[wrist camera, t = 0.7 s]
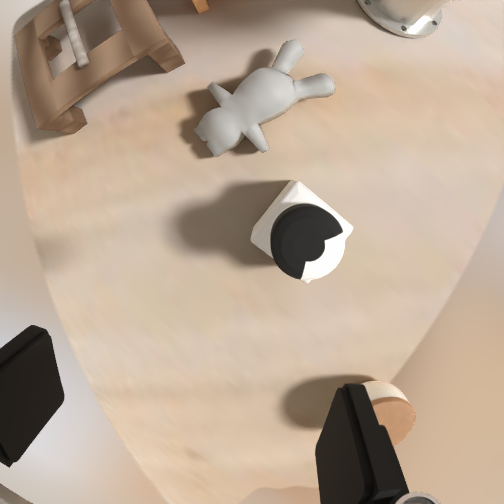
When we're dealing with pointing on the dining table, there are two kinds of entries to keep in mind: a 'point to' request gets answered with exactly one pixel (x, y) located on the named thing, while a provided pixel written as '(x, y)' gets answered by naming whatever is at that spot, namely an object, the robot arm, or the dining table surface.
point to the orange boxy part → (200, 5)
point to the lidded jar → (391, 409)
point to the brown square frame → (85, 58)
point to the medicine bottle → (301, 233)
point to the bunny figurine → (259, 102)
